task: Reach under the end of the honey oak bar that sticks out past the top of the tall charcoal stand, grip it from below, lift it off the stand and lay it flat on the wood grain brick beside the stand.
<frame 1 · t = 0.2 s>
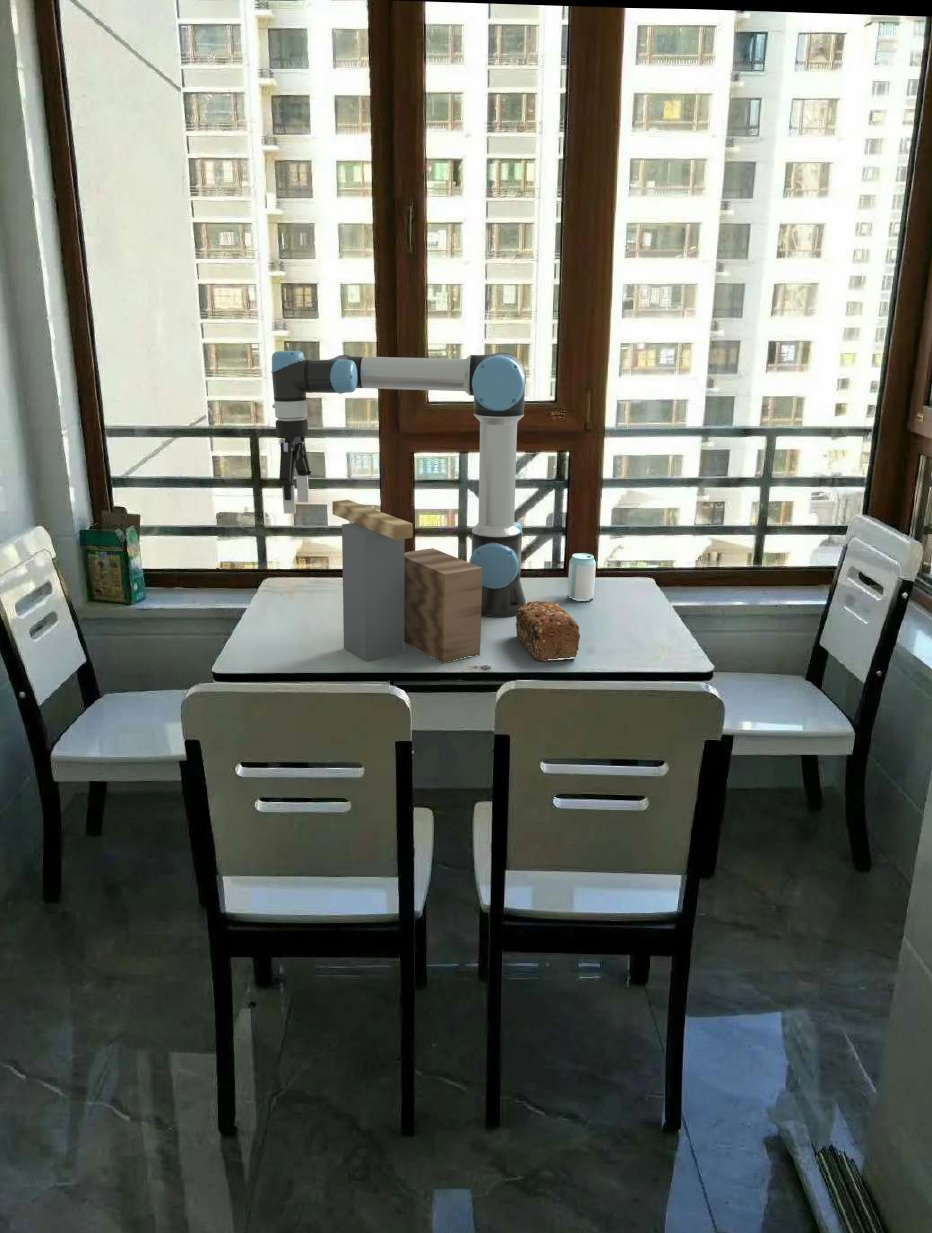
hand: (296, 507, 242), 27 cm above the table, tool pointing down, fingers open, 13 cm apart
can: (580, 599, 269), on the table
wood grain brick: (437, 646, 231), on the table
stand: (373, 650, 227), on the table
oak bar: (370, 525, 219), point 29 cm above the table, touching stand
bread: (545, 649, 232), on the table
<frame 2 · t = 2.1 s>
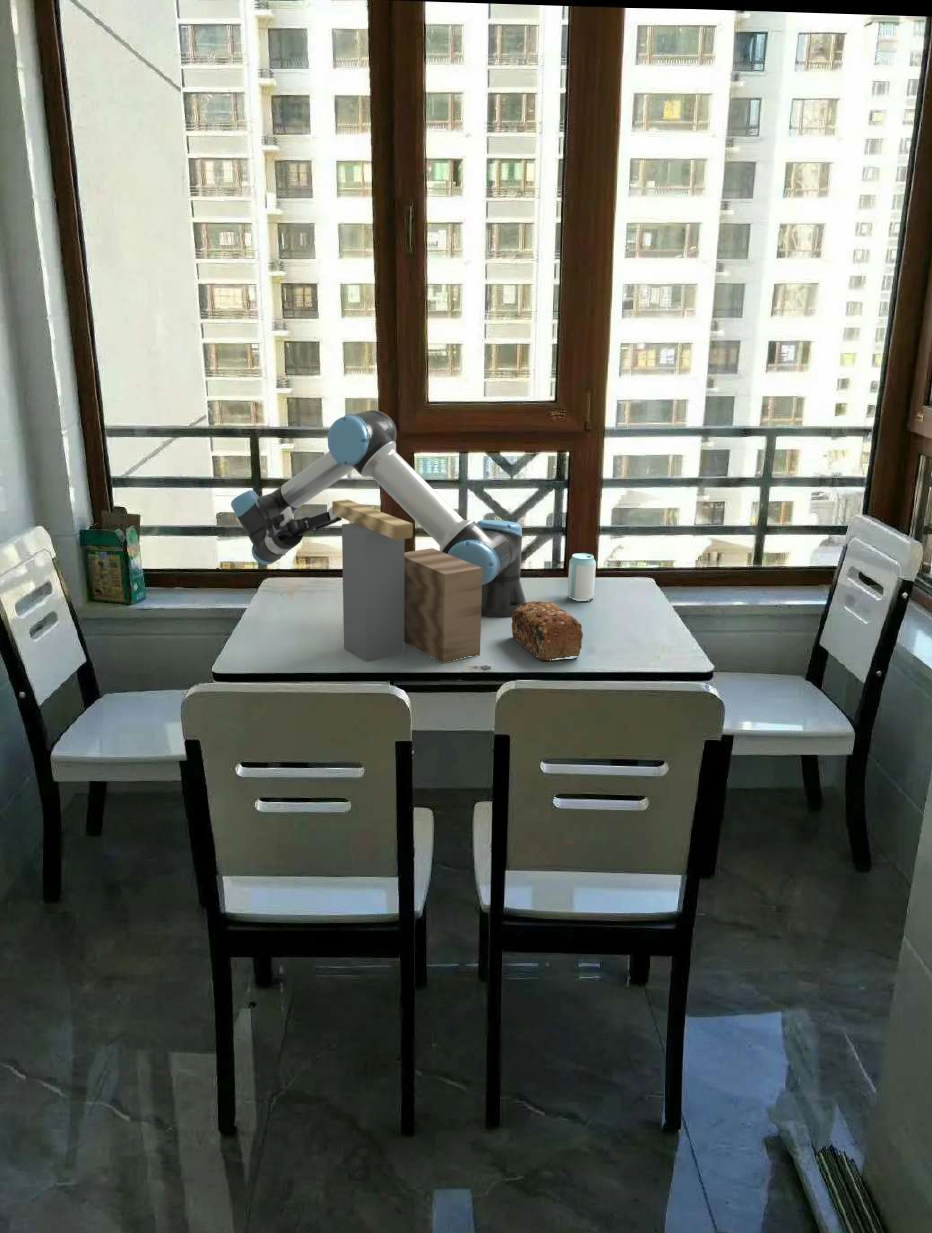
hand: (316, 509, 239), 28 cm above the table, tool pointing upward, fingers open, 13 cm apart
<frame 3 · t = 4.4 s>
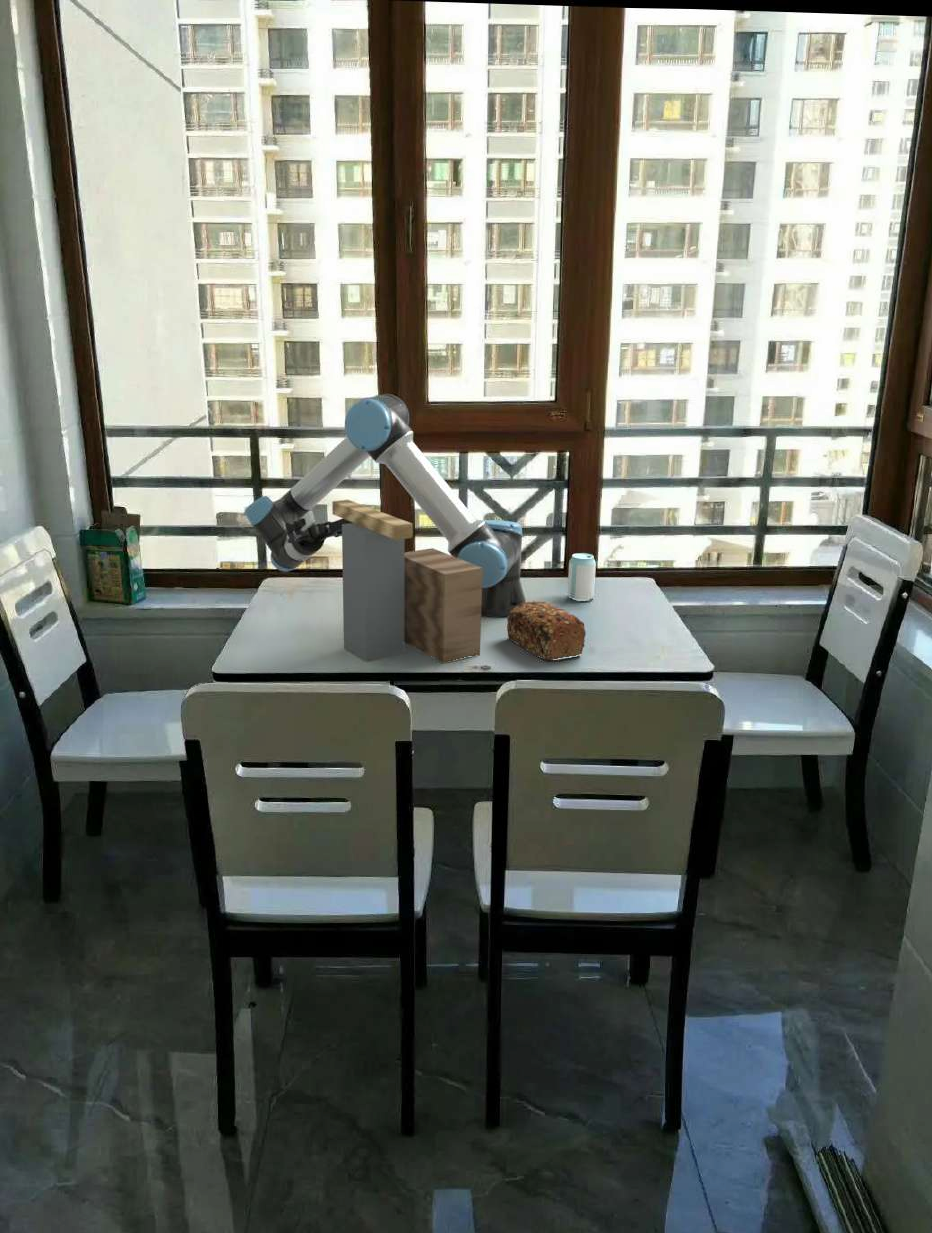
hand: (339, 512, 229), 29 cm above the table, tool pointing upward, fingers open, 13 cm apart
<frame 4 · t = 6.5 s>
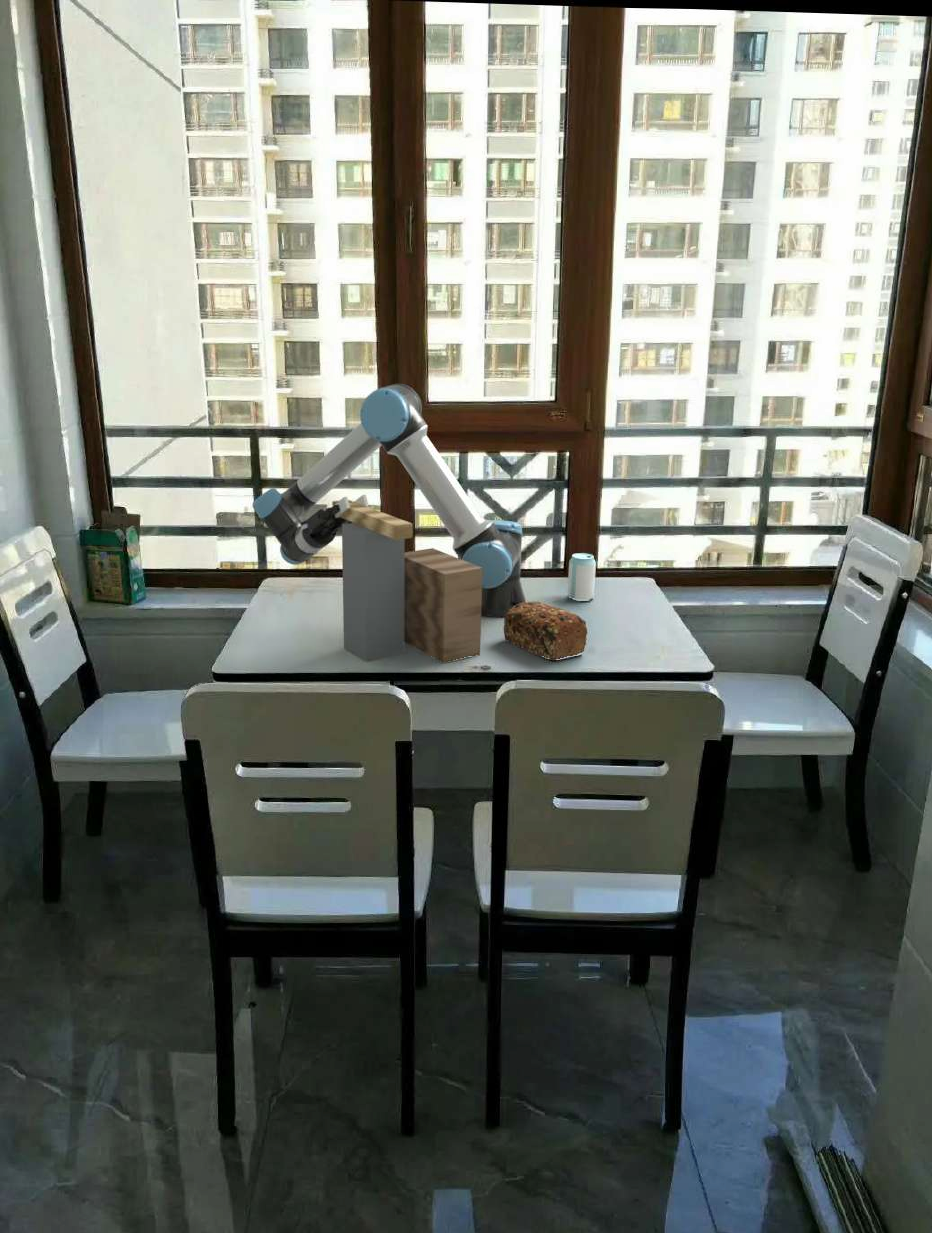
hand: (356, 501, 223), 33 cm above the table, tool pointing upward, fingers closed on oak bar, 4 cm apart
oak bar: (370, 525, 219), point 29 cm above the table, touching gripper, stand
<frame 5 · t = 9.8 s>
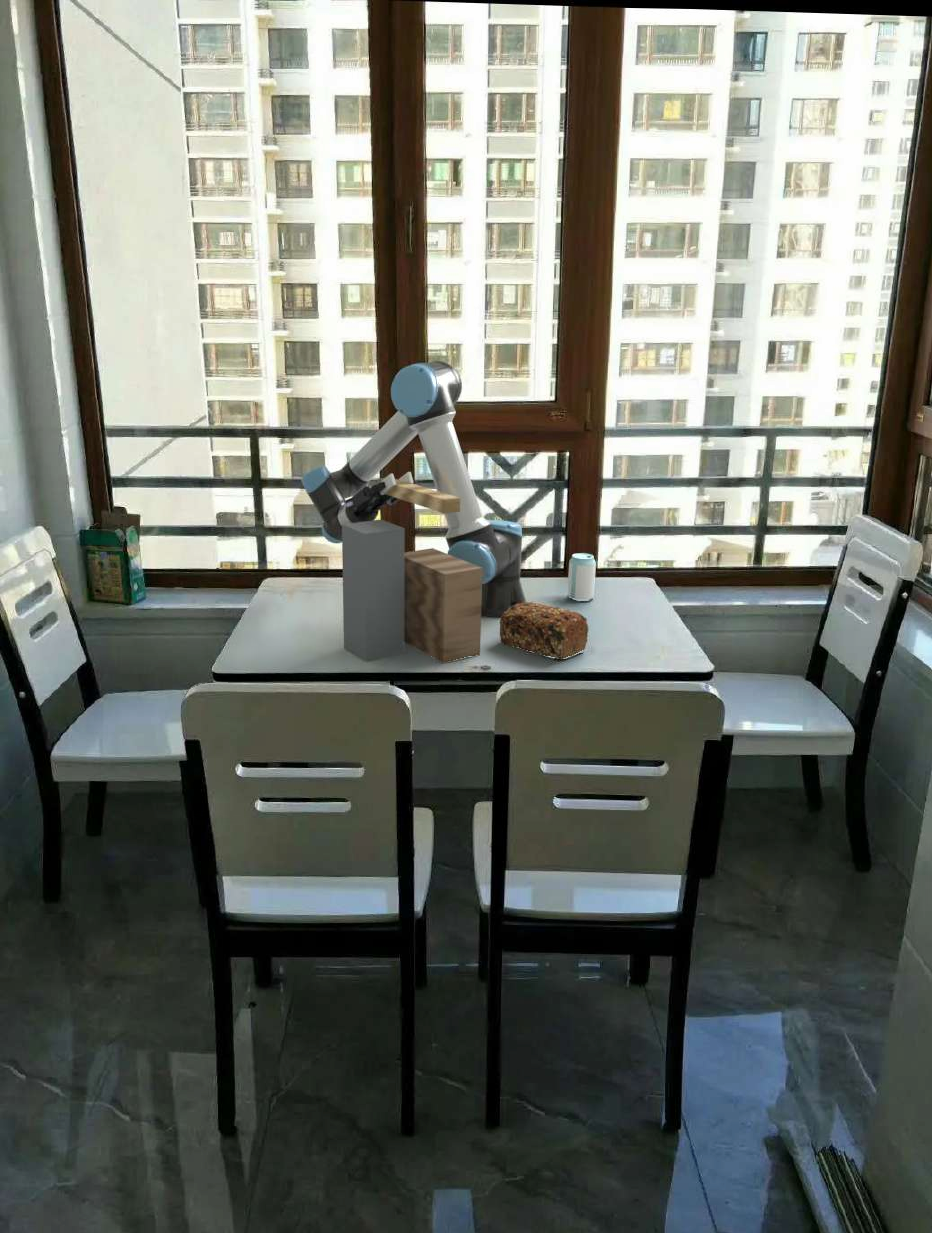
hand: (402, 478, 228), 37 cm above the table, tool pointing upward, fingers closed on oak bar, 4 cm apart
oak bar: (416, 501, 225), point 33 cm above the table, touching gripper
when the fingers open (26 cm above the table, at t = 13.3 s): oak bar drops 1 cm, resting on wood grain brick.
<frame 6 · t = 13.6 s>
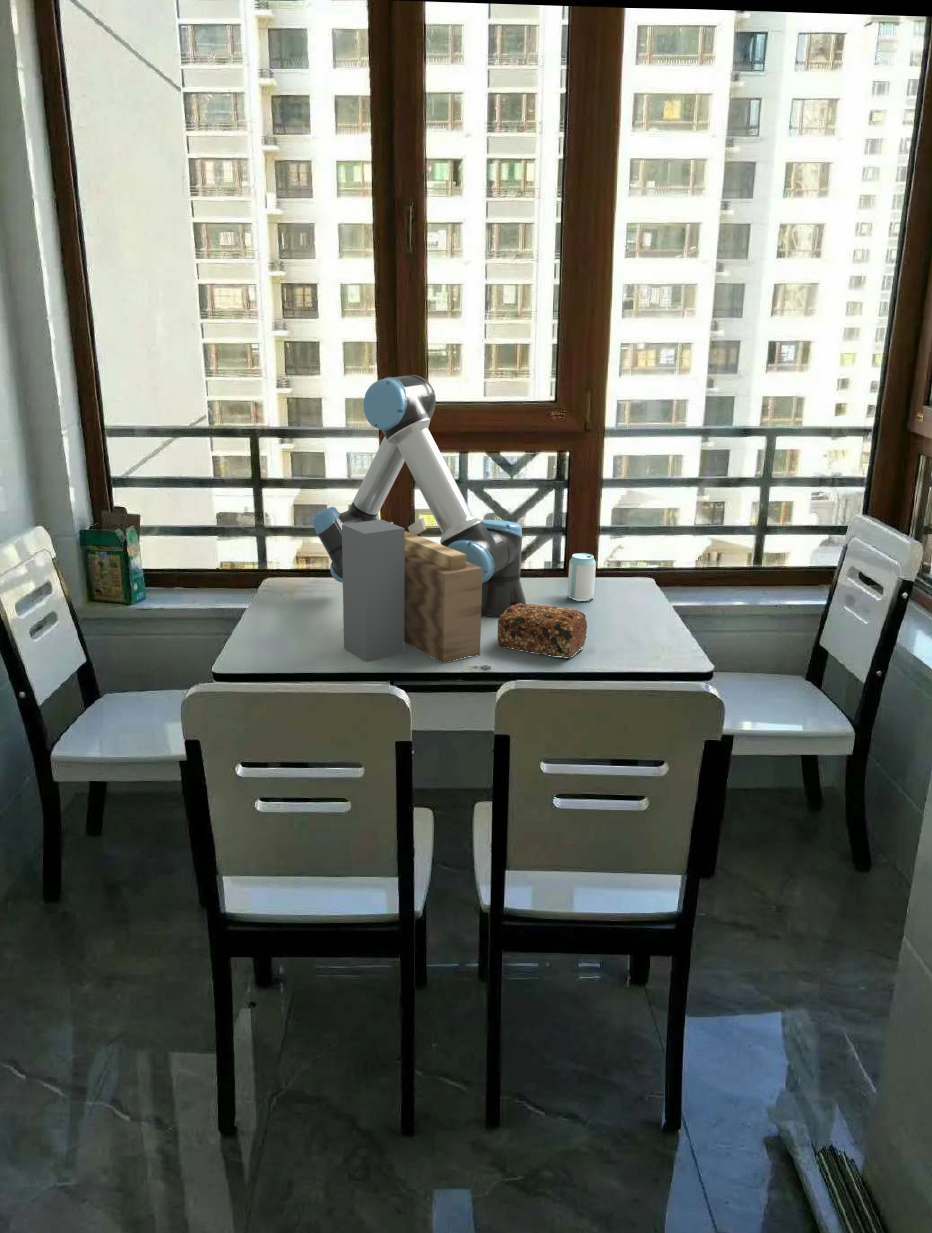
hand: (408, 525, 233), 26 cm above the table, tool pointing upward, fingers open, 8 cm apart
oak bar: (423, 554, 229), point 20 cm above the table, touching wood grain brick
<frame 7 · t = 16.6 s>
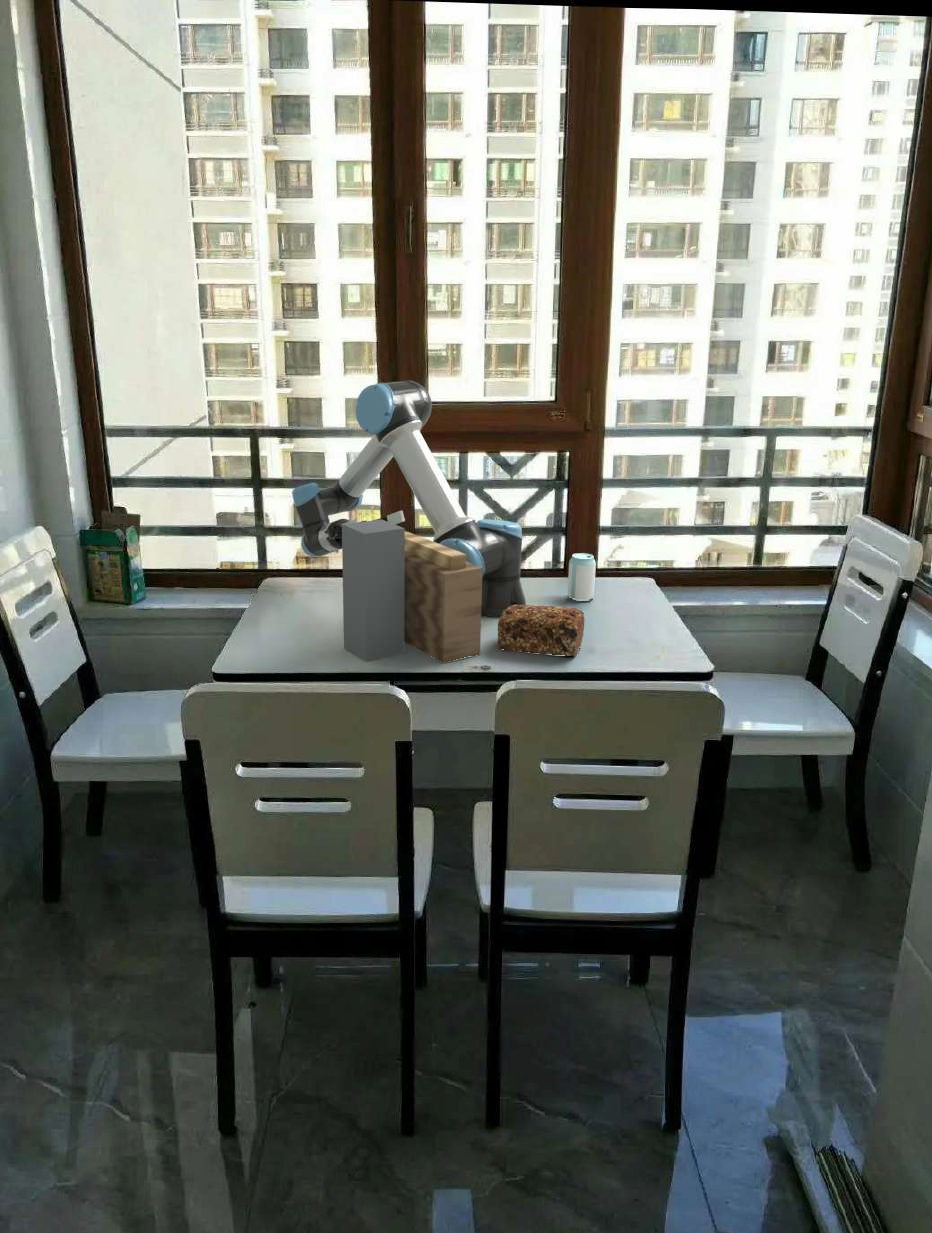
hand: (380, 520, 245), 24 cm above the table, tool pointing upward, fingers open, 13 cm apart
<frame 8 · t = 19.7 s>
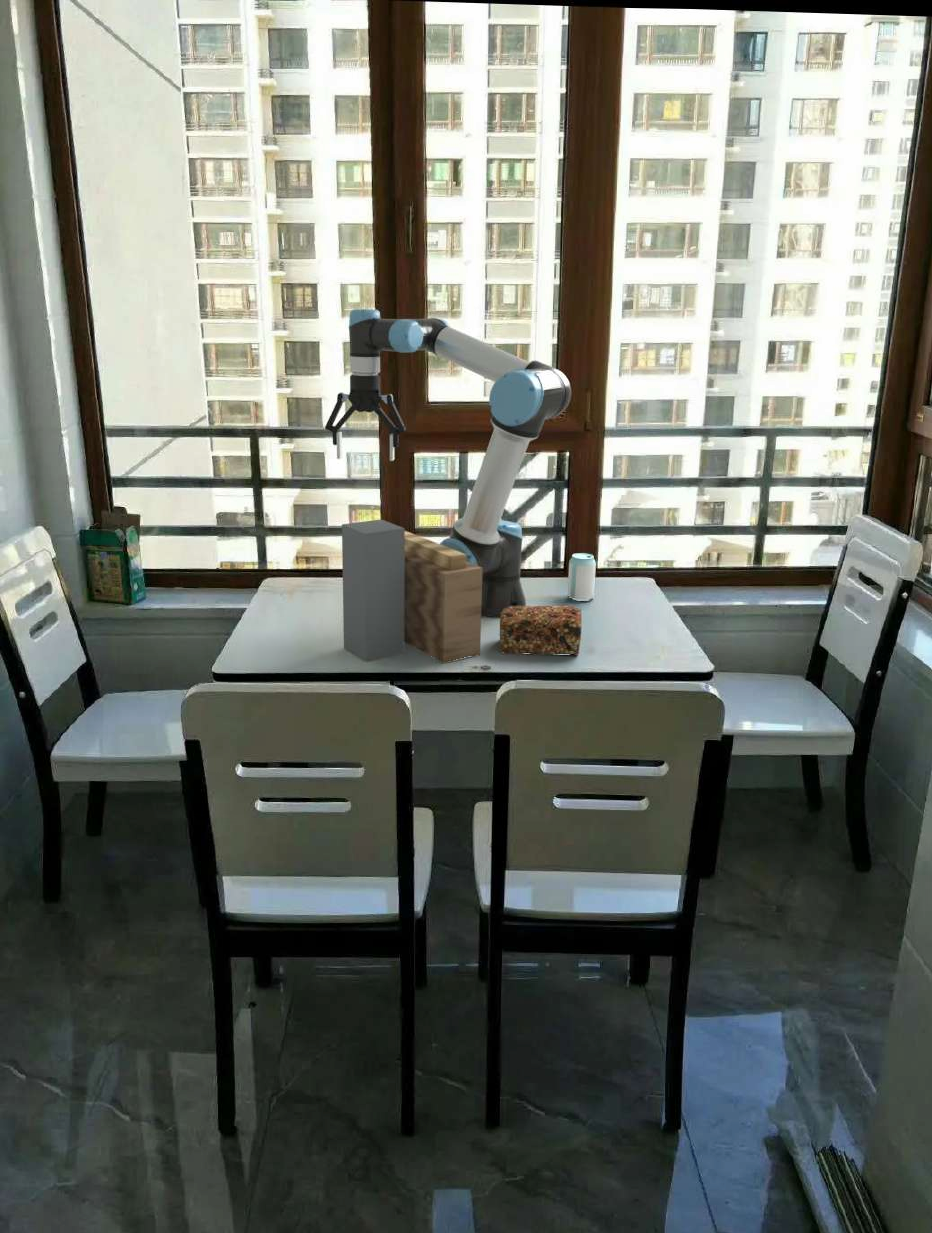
hand: (365, 459, 255), 37 cm above the table, tool pointing down, fingers open, 13 cm apart
at the end: oak bar inside the target area (0.3 cm from its centre), point 20.5 cm above the table; oak bar tilted 0°; the gripper is holding nothing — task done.
